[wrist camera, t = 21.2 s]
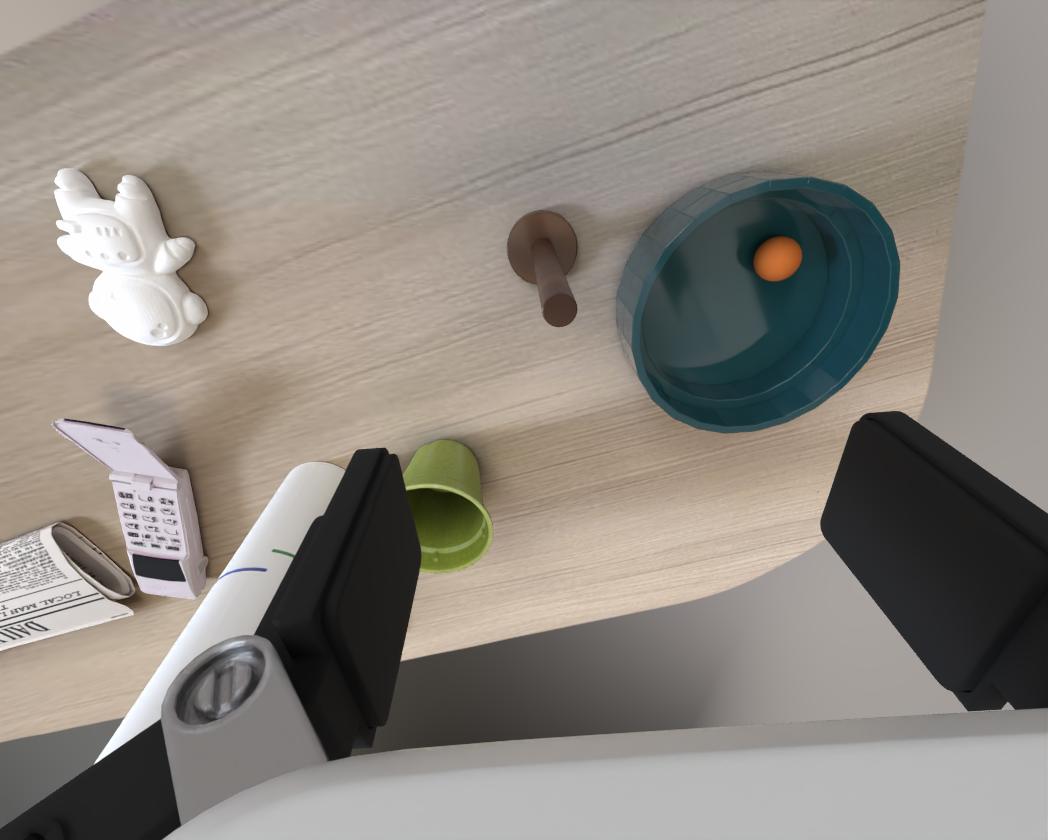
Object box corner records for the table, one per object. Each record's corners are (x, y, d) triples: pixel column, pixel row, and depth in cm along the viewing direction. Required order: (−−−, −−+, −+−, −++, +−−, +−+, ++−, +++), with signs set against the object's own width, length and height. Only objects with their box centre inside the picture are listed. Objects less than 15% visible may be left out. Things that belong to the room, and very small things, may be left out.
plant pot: (477, 515, 47) (471, 585, 40) (384, 489, 45) (359, 558, 38) (510, 441, 43) (510, 504, 35) (408, 409, 41) (385, 469, 33)
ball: (798, 224, 31) (811, 268, 31) (791, 234, 34) (803, 275, 34) (750, 242, 32) (762, 284, 32) (746, 251, 35) (757, 290, 35)
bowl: (618, 182, 32) (639, 190, 27) (872, 161, 32) (942, 165, 27) (612, 403, 41) (627, 440, 36) (812, 388, 41) (855, 424, 36)
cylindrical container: (278, 460, 43) (46, 777, 22) (357, 462, 44) (206, 777, 22) (293, 519, 47) (106, 840, 25) (366, 521, 47) (243, 840, 26)
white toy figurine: (187, 183, 32) (158, 186, 29) (216, 348, 38) (194, 364, 35) (45, 158, 31) (1, 160, 28) (97, 332, 37) (66, 347, 34)
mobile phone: (134, 432, 35) (183, 643, 47) (184, 395, 40) (216, 594, 52) (44, 417, 34) (118, 635, 46) (107, 382, 39) (158, 586, 51)
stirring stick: (505, 211, 33) (502, 255, 20) (577, 209, 33) (618, 252, 20) (508, 283, 36) (507, 362, 23) (575, 281, 36) (610, 359, 23)
